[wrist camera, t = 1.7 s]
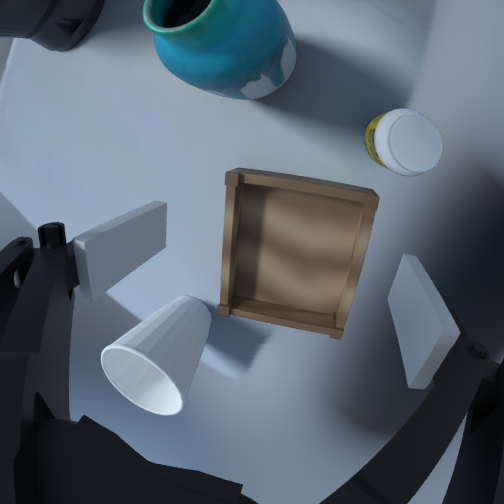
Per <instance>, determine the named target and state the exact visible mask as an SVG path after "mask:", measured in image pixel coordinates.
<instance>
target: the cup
mask: <svg viewBox="0 0 504 504" xmlns="http://www.w3.org/2000/svg"><path fill="white" fill-rule="evenodd" d="M211 322H212V316H211V313H210V311H209V309H208V308H207V306H206V305H205V304H204V303H203V302H202V301H200V300H199V299H197V298H195V297H192V296H187V295H186V296H180V297H178V298H177V299H175V300H174V301H172V302H169V303H167V304H166V305H164V306H163V307H161V308H160V309H159V310H157V311H156V312H155V313H153V314H152V315H150V316H149V317H148V318H146V319H145V320H144V321H142V322H141V323H140V324H138V325H137V326H136V327H134V328H133V329H131V330H130V331H129V332H127V333H126V334H125V335H123V336H122V337H120V338H119V339H118V340H116V341H115V342H114V343H112V344H111V345H109V346H107V347H106V348H105V349H104V350H103V351H102V356H101V362H102V367H103V369H104V372H105V374H106V376H107V377H108V379H109V380H110V381H111V383H112V384H113V385H114V386H115V387H116V389H117V390H119V392H120V393H122V394H123V395H124V396H125V397H126V398H127V399H129V400H130V401H132V402H133V403H135V404H136V405H138V406H140V407H141V408H143V409H145V410H148V411H150V412H153V413H156V414H161V415H174V414H176V413H179V412H180V411H181V410H182V409H183V408H184V403H185V400H186V397H187V394H188V391H189V388H190V386H191V383H192V380H193V377H194V374H195V372H196V369H197V366H198V363H199V361H200V358H201V355H202V352H203V350H204V347H205V344H206V341H207V338H208V335H209V328H210V326H211Z"/></svg>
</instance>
